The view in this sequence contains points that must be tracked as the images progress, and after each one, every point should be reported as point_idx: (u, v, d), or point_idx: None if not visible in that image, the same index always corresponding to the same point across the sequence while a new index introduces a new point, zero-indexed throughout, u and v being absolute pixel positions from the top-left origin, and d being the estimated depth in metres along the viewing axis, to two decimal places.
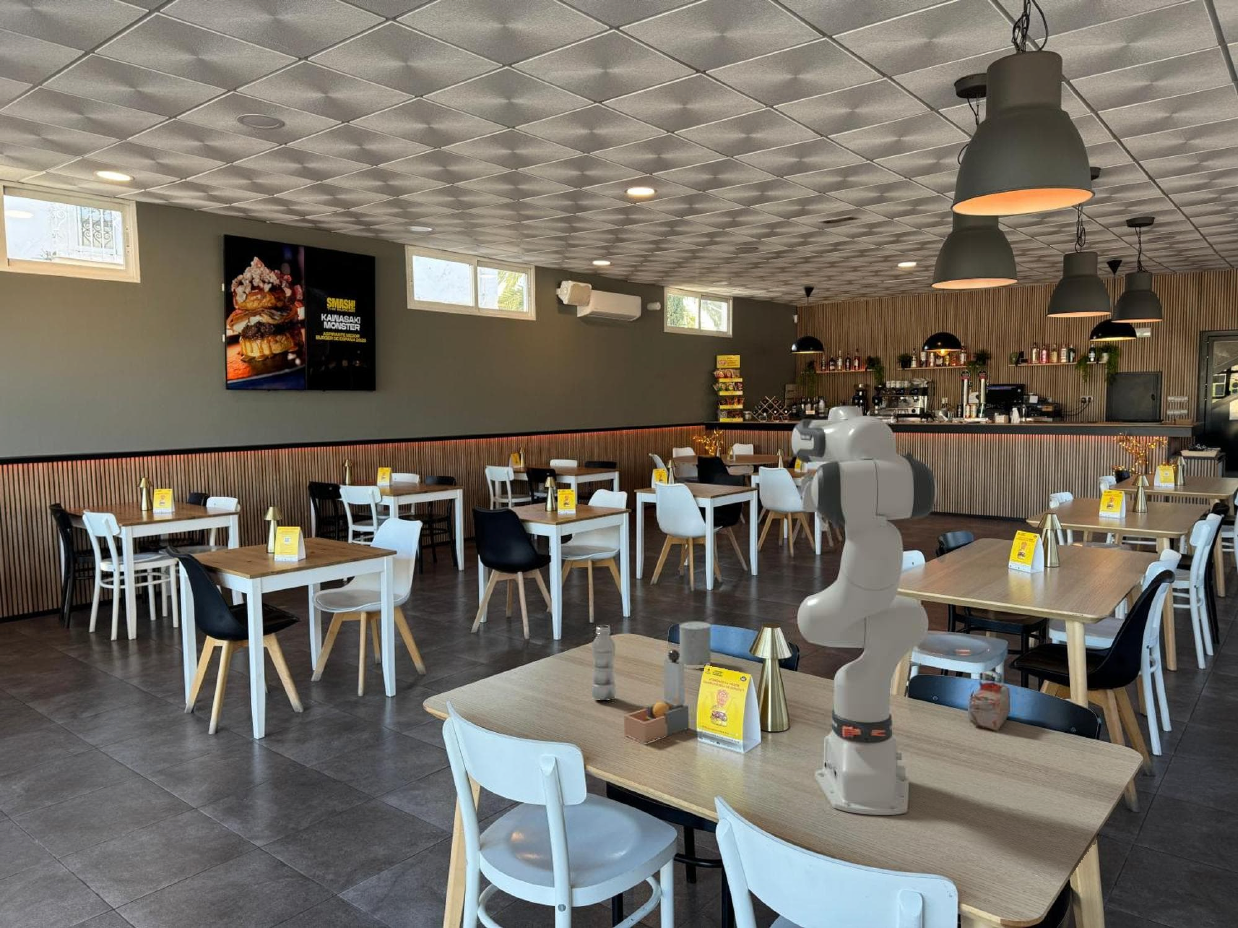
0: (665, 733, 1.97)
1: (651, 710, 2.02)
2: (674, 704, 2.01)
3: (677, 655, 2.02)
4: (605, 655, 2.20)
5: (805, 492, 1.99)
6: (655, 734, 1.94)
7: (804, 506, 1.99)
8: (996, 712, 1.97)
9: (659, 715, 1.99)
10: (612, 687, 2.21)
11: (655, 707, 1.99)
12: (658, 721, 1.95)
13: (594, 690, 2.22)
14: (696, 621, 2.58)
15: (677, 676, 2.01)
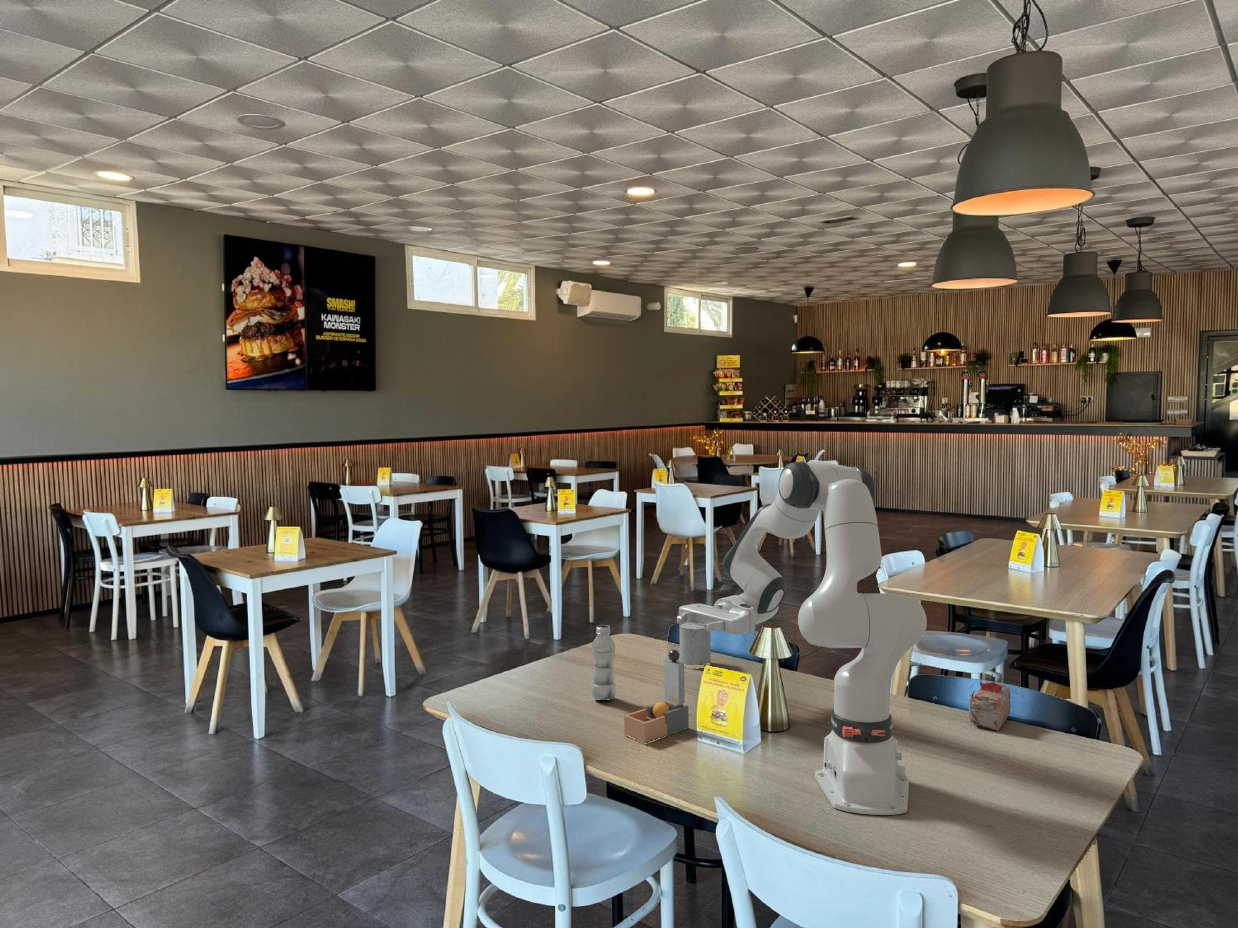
0: (665, 733, 1.97)
1: (651, 710, 2.02)
2: (674, 704, 2.01)
3: (677, 655, 2.02)
4: (605, 655, 2.20)
5: (691, 604, 2.19)
6: (655, 734, 1.94)
7: (681, 606, 2.17)
8: (997, 712, 1.97)
9: (659, 715, 1.99)
10: (612, 687, 2.21)
11: (655, 707, 1.99)
12: (658, 721, 1.95)
13: (594, 690, 2.22)
14: None
15: (677, 676, 2.01)
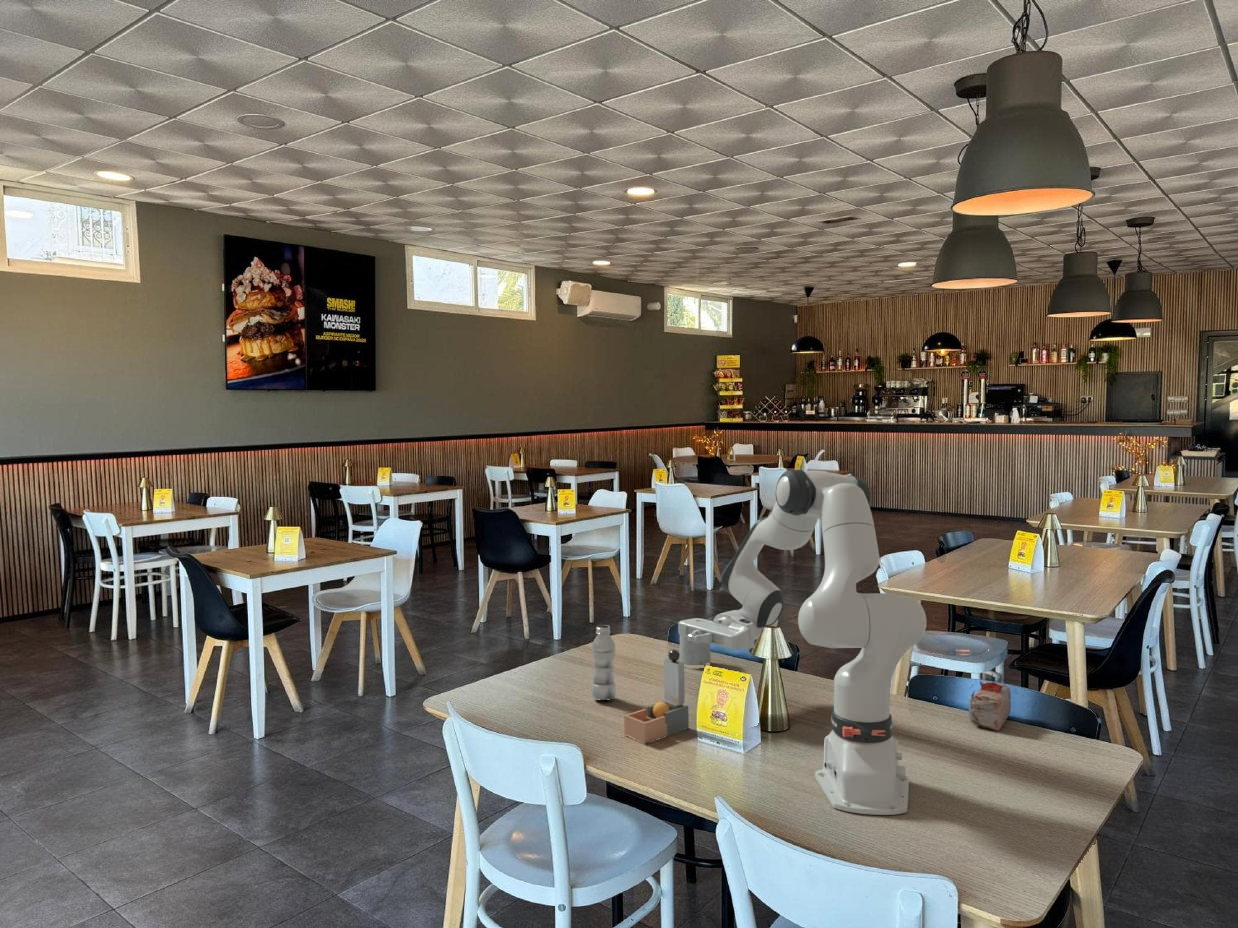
0: (665, 733, 1.97)
1: (651, 710, 2.02)
2: (674, 704, 2.01)
3: (677, 655, 2.02)
4: (605, 655, 2.20)
5: None
6: (655, 734, 1.94)
7: None
8: (997, 712, 1.97)
9: (659, 715, 1.99)
10: (612, 687, 2.21)
11: (655, 707, 1.99)
12: (658, 721, 1.95)
13: (594, 690, 2.22)
14: None
15: (677, 676, 2.01)
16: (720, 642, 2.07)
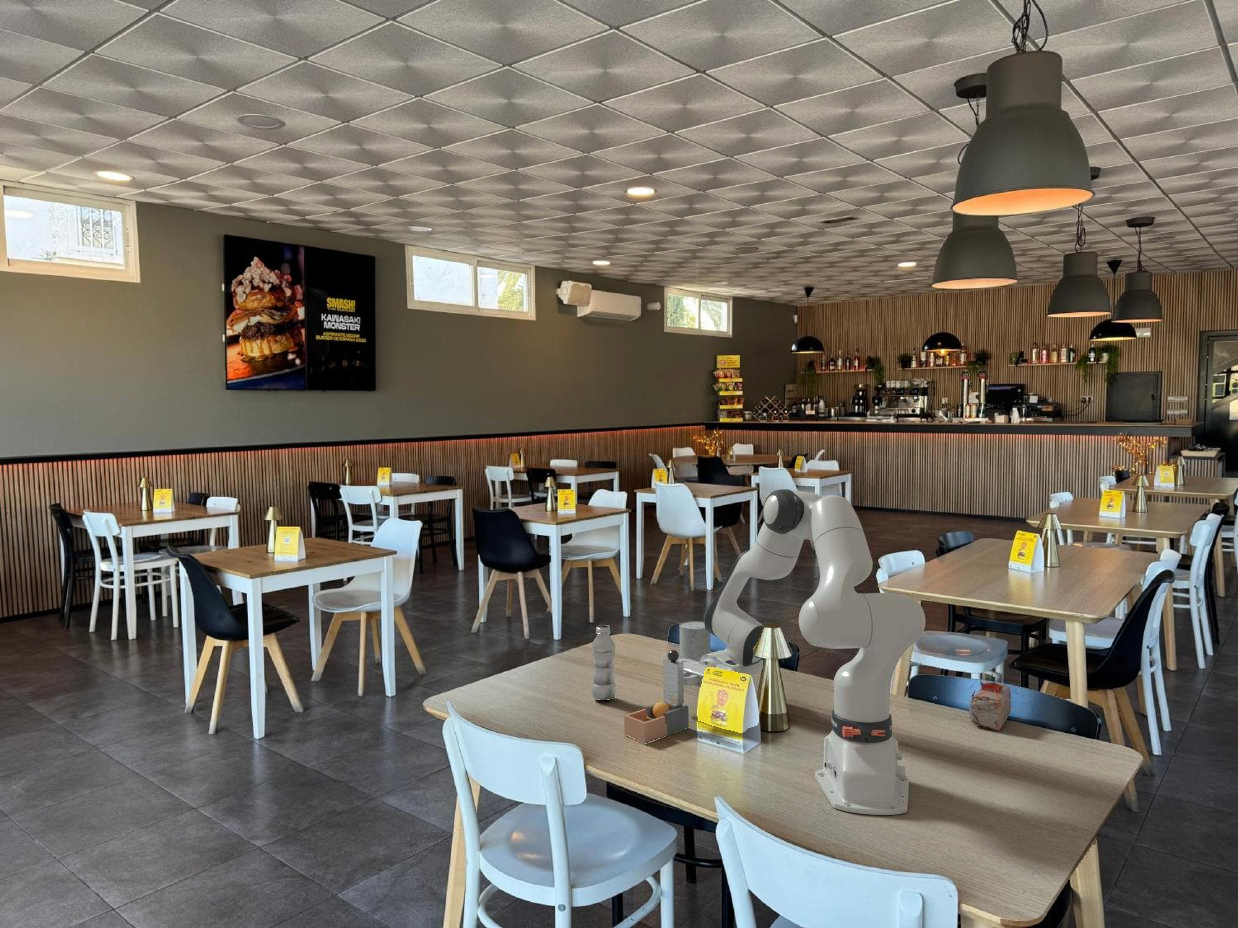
0: (665, 733, 1.97)
1: (651, 710, 2.02)
2: (673, 704, 2.01)
3: (676, 655, 2.01)
4: (605, 655, 2.20)
5: None
6: (655, 734, 1.94)
7: None
8: (998, 713, 1.97)
9: (659, 715, 1.99)
10: (612, 687, 2.21)
11: (655, 707, 1.99)
12: (658, 721, 1.95)
13: (594, 690, 2.22)
14: (696, 621, 2.58)
15: (676, 677, 2.00)
16: None
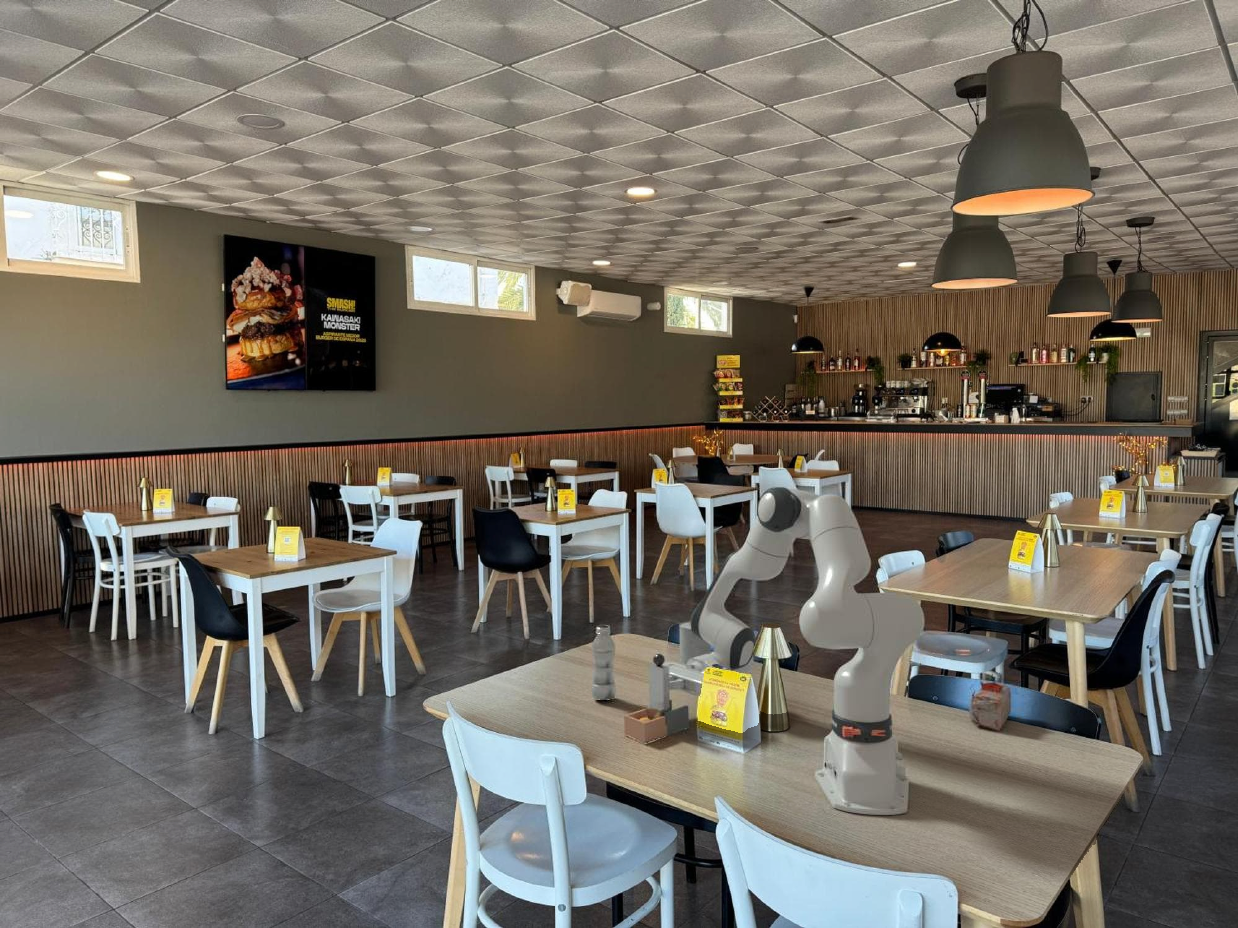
0: (665, 733, 1.97)
1: None
2: (659, 709, 1.98)
3: (662, 659, 1.98)
4: (605, 655, 2.20)
5: None
6: (655, 734, 1.94)
7: None
8: (998, 712, 1.97)
9: None
10: (612, 687, 2.21)
11: None
12: (658, 721, 1.95)
13: (594, 690, 2.22)
14: None
15: (662, 681, 1.97)
16: (692, 689, 2.00)
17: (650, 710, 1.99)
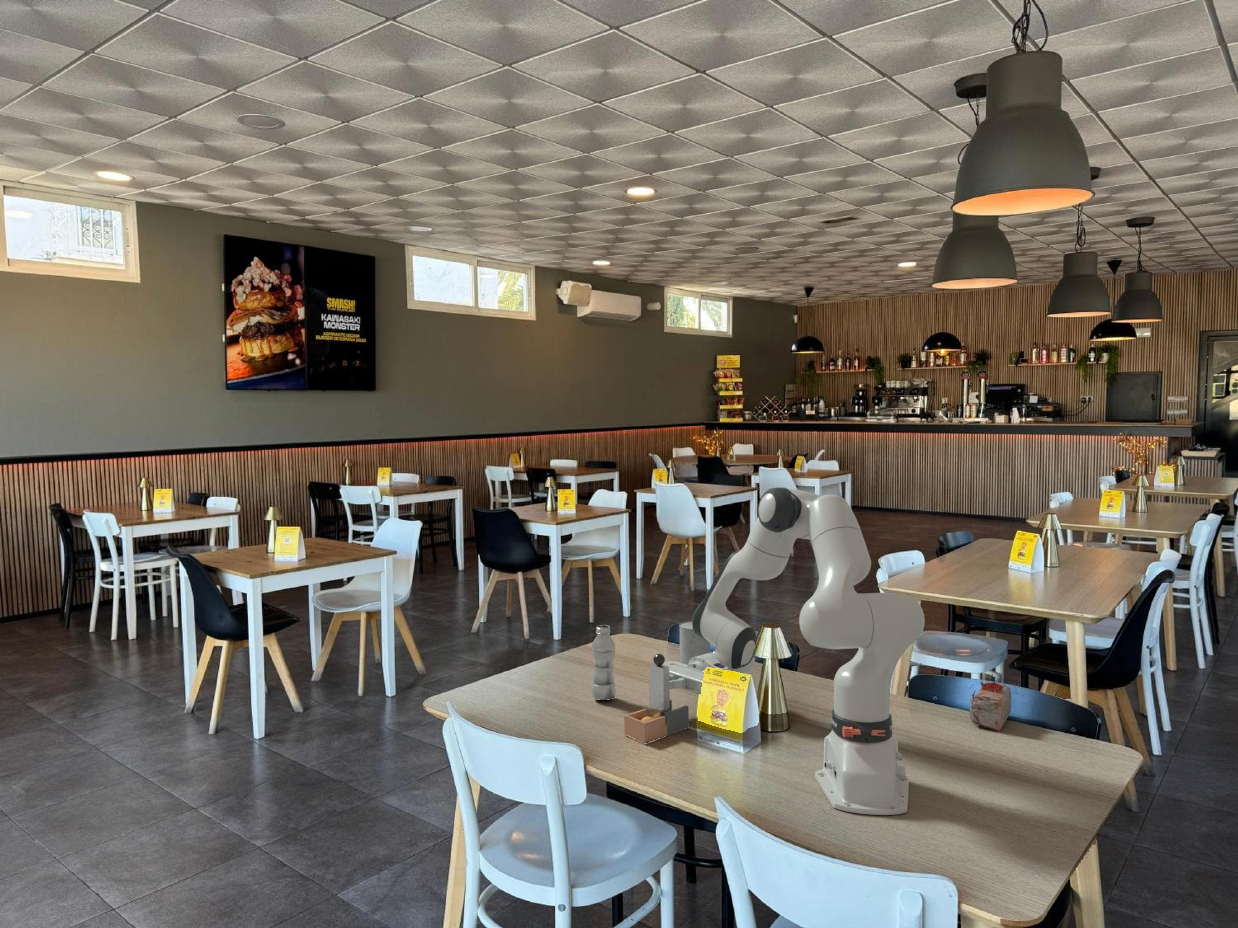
0: (665, 733, 1.97)
1: None
2: (659, 709, 1.98)
3: (662, 659, 1.98)
4: (605, 655, 2.20)
5: None
6: (655, 734, 1.94)
7: None
8: (998, 712, 1.97)
9: None
10: (612, 687, 2.21)
11: None
12: (658, 721, 1.95)
13: (594, 690, 2.22)
14: None
15: (662, 681, 1.97)
16: (694, 688, 2.01)
17: (650, 710, 1.99)
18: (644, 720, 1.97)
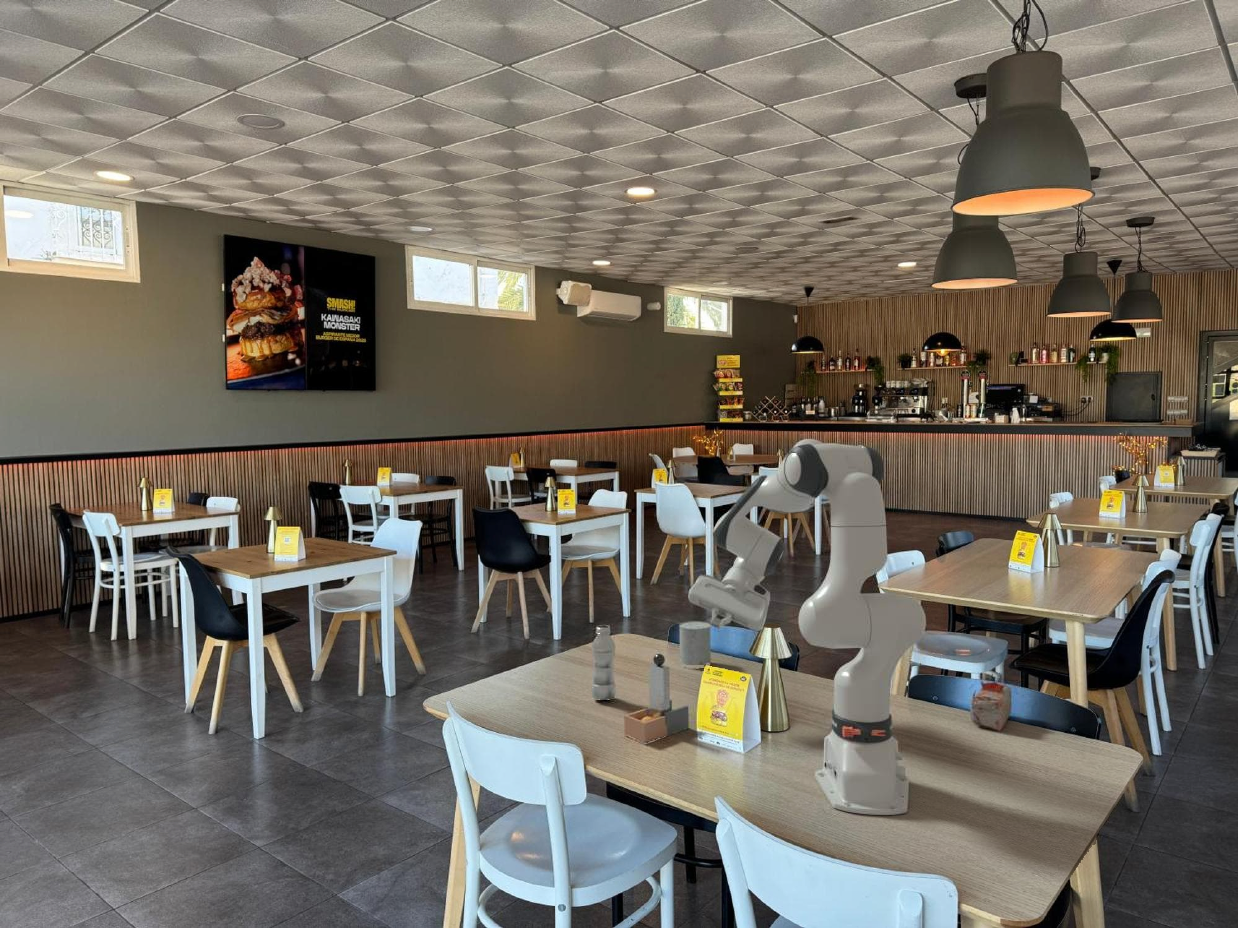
0: (665, 733, 1.97)
1: None
2: (659, 709, 1.98)
3: (662, 659, 1.98)
4: (605, 655, 2.20)
5: (698, 581, 2.12)
6: (655, 734, 1.94)
7: (691, 589, 2.10)
8: (999, 712, 1.97)
9: None
10: (612, 687, 2.21)
11: None
12: (658, 721, 1.95)
13: (594, 690, 2.22)
14: (696, 621, 2.58)
15: (662, 681, 1.97)
16: (741, 620, 2.06)
17: (650, 710, 1.99)
18: (644, 720, 1.97)
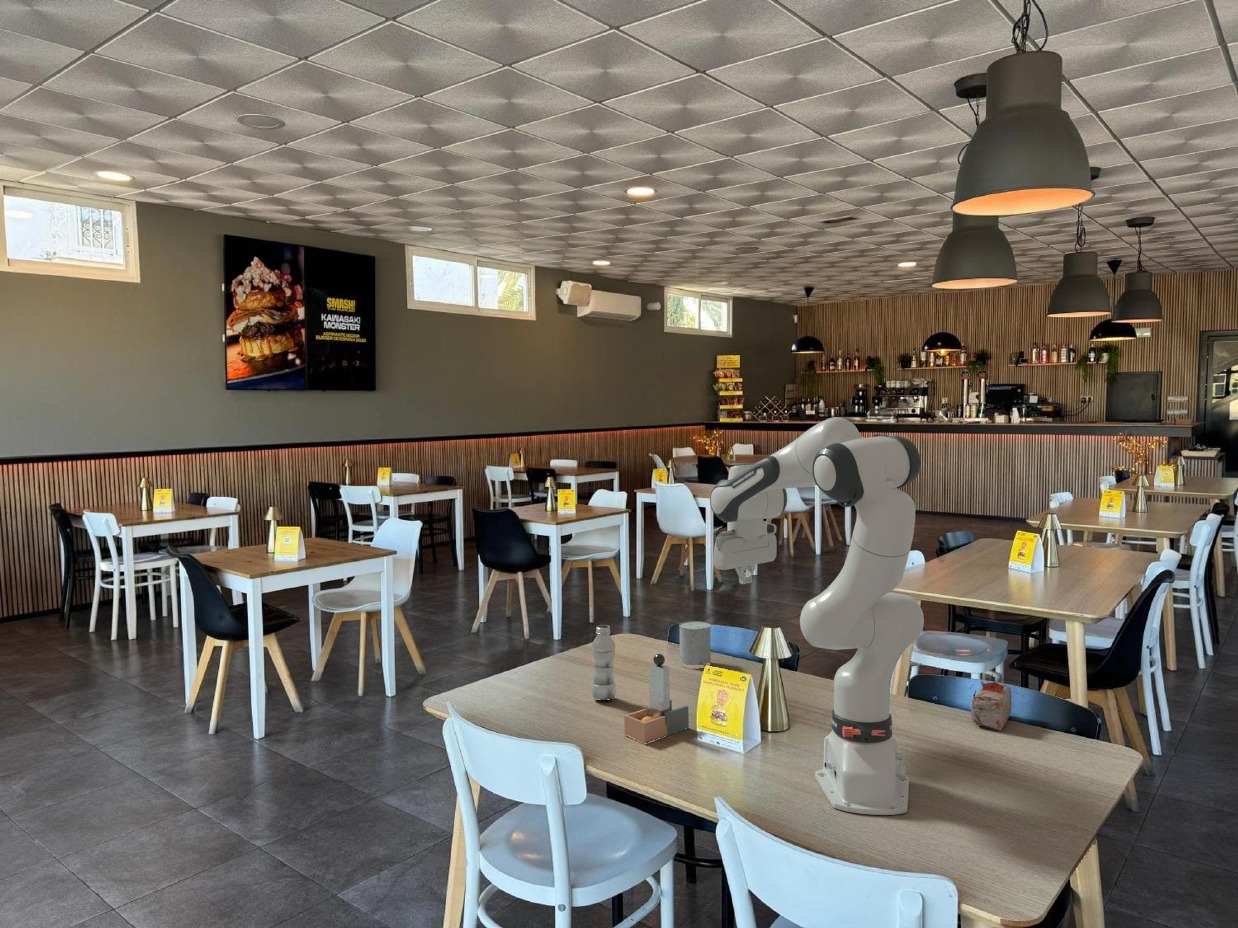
0: (665, 733, 1.97)
1: None
2: (659, 709, 1.98)
3: (662, 659, 1.98)
4: (605, 655, 2.20)
5: (725, 550, 2.00)
6: (655, 734, 1.94)
7: (724, 564, 2.00)
8: (999, 712, 1.97)
9: None
10: (612, 687, 2.21)
11: None
12: (658, 721, 1.95)
13: (594, 690, 2.22)
14: (696, 621, 2.58)
15: (662, 681, 1.97)
16: None
17: (650, 710, 1.99)
18: (644, 720, 1.97)
